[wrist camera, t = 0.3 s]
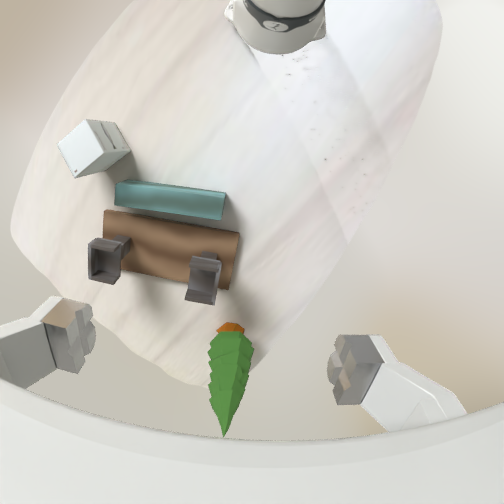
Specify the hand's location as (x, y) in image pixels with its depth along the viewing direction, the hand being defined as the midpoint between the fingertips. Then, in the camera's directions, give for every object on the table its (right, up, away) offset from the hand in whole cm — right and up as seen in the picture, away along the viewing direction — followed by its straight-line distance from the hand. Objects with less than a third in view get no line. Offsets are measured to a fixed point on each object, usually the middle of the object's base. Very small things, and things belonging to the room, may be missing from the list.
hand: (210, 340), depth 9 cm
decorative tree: (-3, -16, +58) cm, 61 cm away
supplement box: (-27, +24, +43) cm, 56 cm away
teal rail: (-14, +14, +47) cm, 51 cm away
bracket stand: (-16, +3, +50) cm, 53 cm away
